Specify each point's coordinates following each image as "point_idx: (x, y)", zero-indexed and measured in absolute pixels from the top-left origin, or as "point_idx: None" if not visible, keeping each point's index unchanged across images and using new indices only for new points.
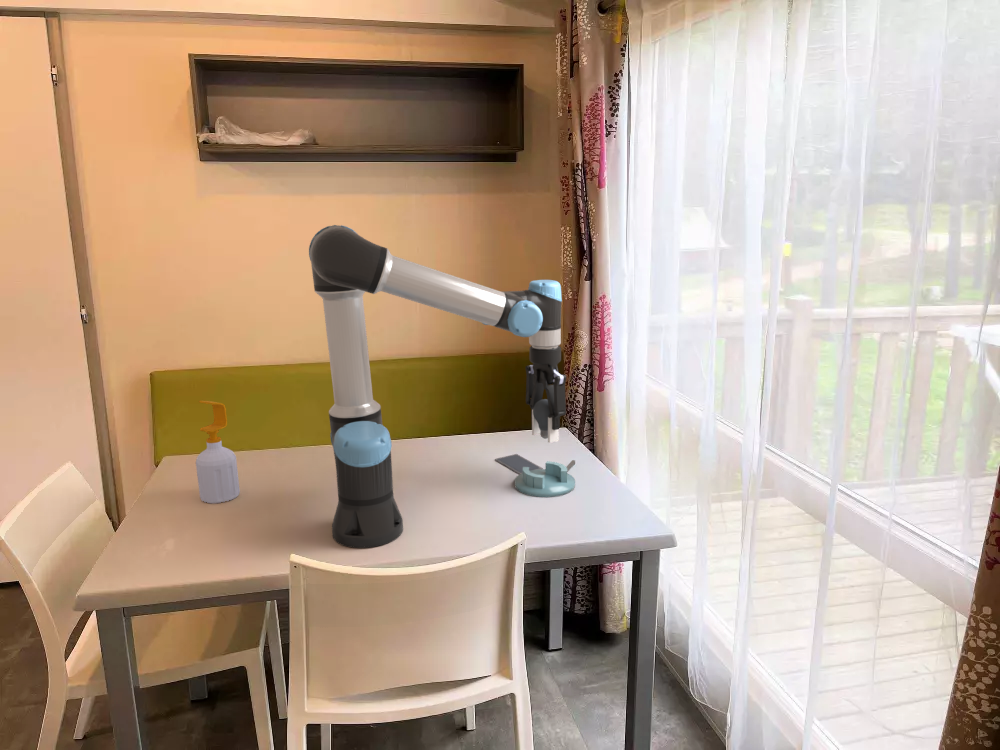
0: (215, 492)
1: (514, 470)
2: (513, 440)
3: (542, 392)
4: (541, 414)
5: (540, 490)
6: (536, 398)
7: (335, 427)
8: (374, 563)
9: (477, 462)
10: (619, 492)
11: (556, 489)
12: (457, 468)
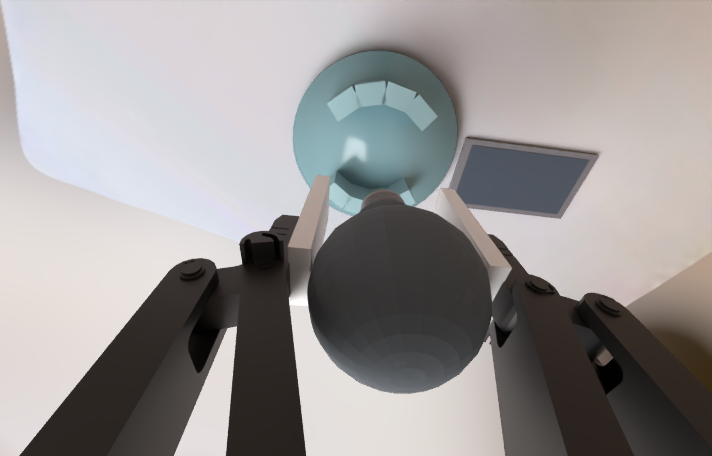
0: None
1: (498, 142)
2: (617, 266)
3: (509, 453)
4: (348, 230)
5: (327, 87)
6: (525, 363)
7: None
8: None
9: (641, 102)
10: (244, 236)
11: (306, 129)
12: (692, 2)
